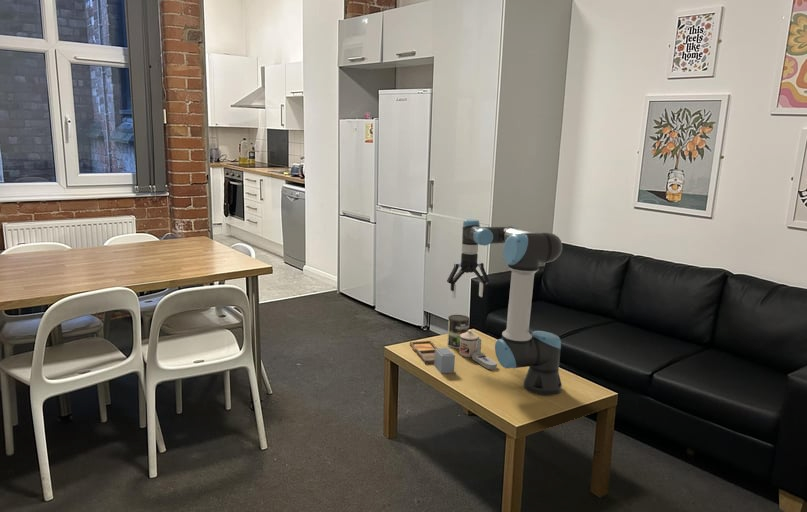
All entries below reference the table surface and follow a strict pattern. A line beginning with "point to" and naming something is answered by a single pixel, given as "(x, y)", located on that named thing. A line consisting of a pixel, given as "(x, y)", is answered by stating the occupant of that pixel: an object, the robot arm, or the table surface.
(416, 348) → the tray
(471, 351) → the teacup with lid
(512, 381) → the table surface
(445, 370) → the grey paneled block
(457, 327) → the coffee can
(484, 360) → the electronic device
